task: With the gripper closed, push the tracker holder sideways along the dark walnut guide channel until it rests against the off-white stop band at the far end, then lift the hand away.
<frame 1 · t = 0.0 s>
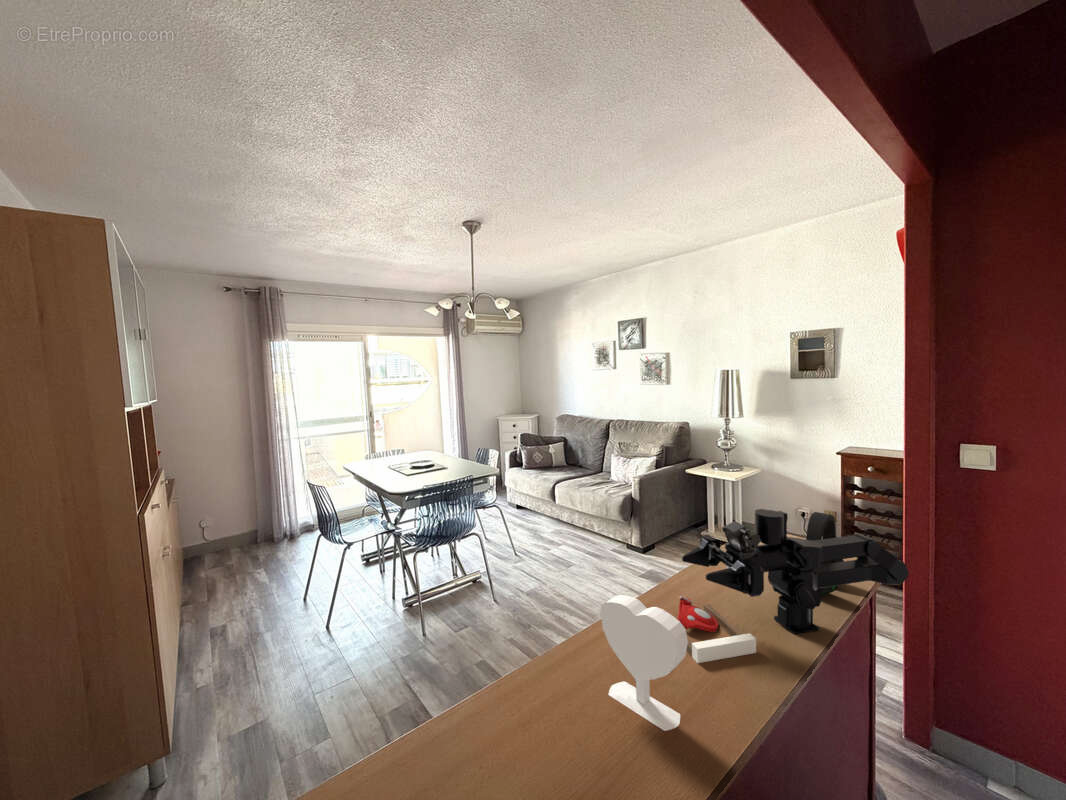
hand: (693, 567, 95), 17 cm above the counter, tool horizontal, fingers open, 9 cm apart
guide channel: (700, 631, 100), on the counter
tracker holder: (695, 622, 104), on the counter
headphones: (821, 589, 117), on the counter
heart sculpture: (643, 705, 79), on the counter
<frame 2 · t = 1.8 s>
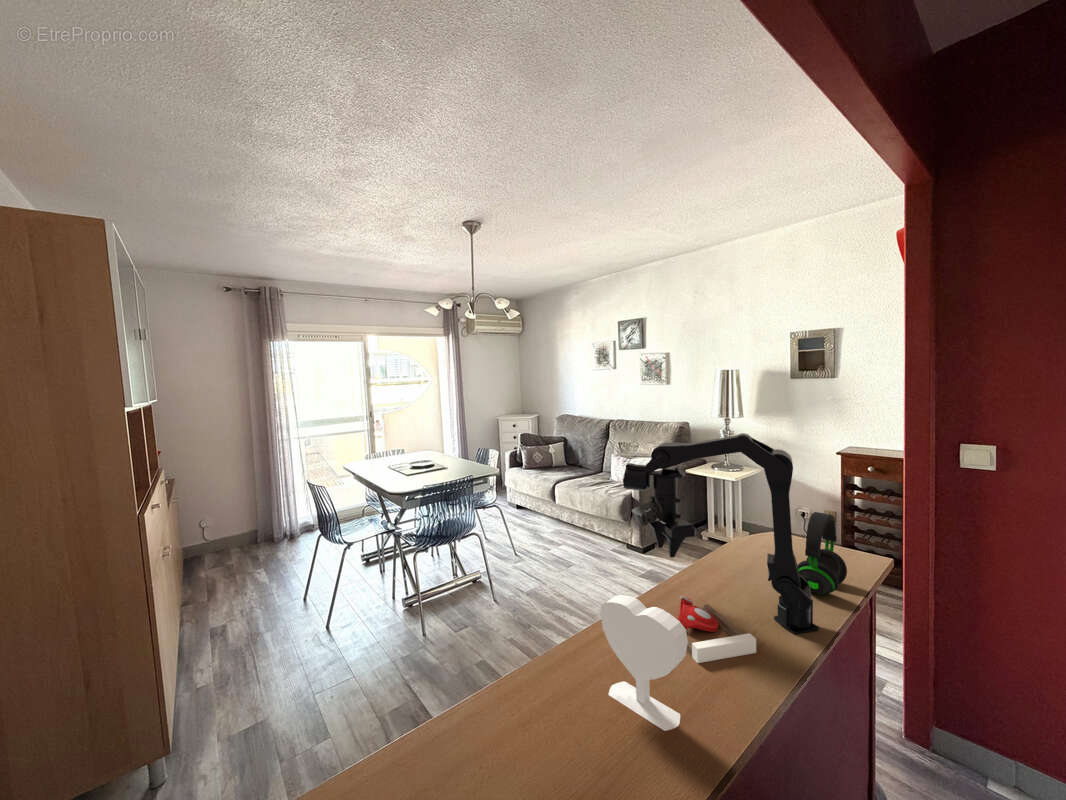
hand: (666, 552, 114), 12 cm above the counter, tool pointing down, fingers open, 6 cm apart
nothing on the counter moved.
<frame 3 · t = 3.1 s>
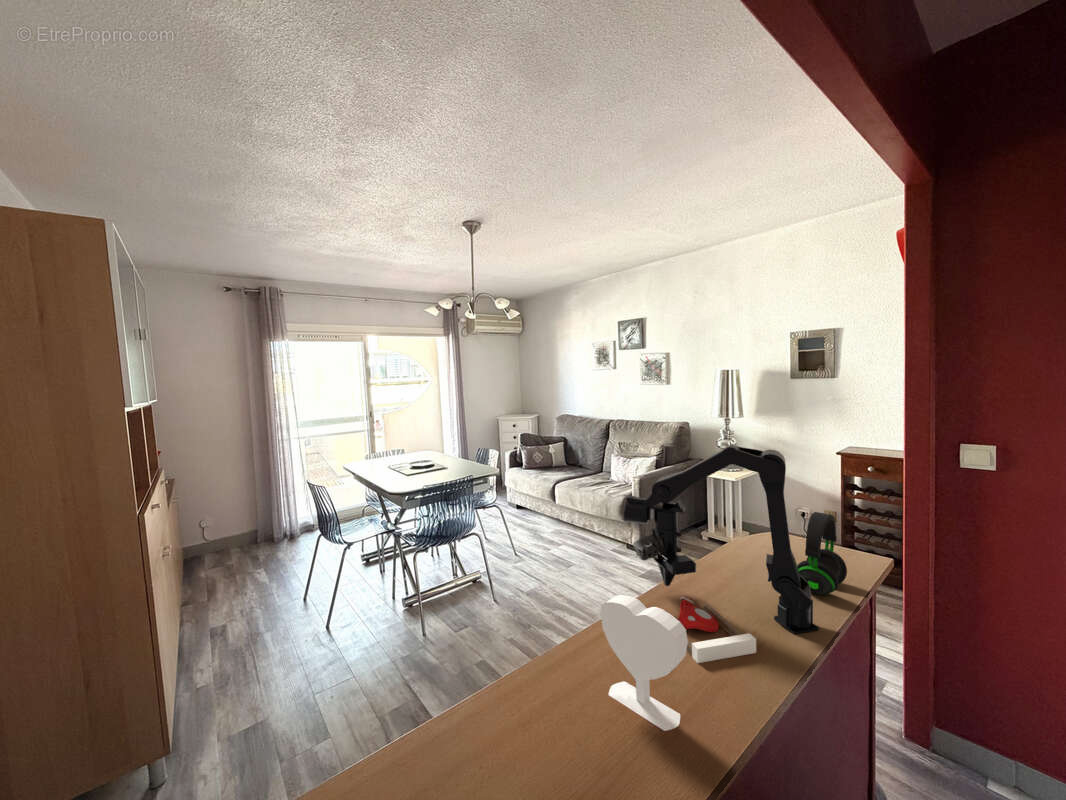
hand: (666, 585, 115), 3 cm above the counter, tool pointing down, fingers closed
nothing on the counter moved.
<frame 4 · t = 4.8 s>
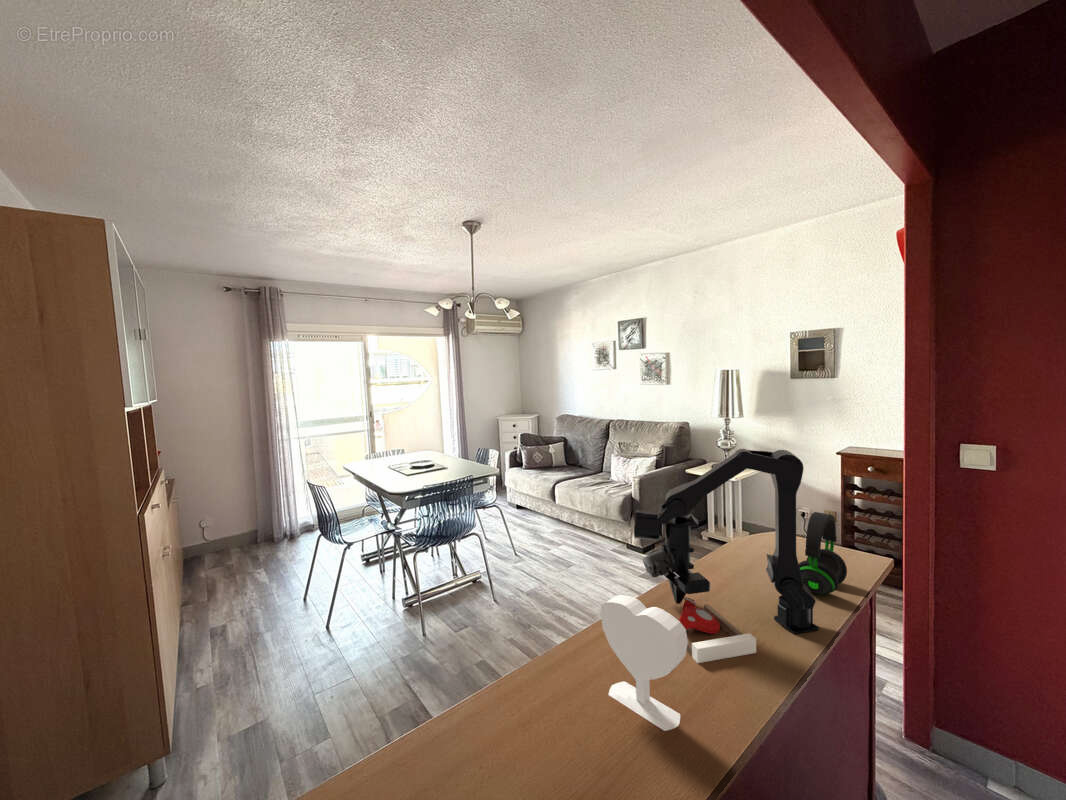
hand: (677, 603, 109), 2 cm above the counter, tool pointing down, fingers closed
nothing on the counter moved.
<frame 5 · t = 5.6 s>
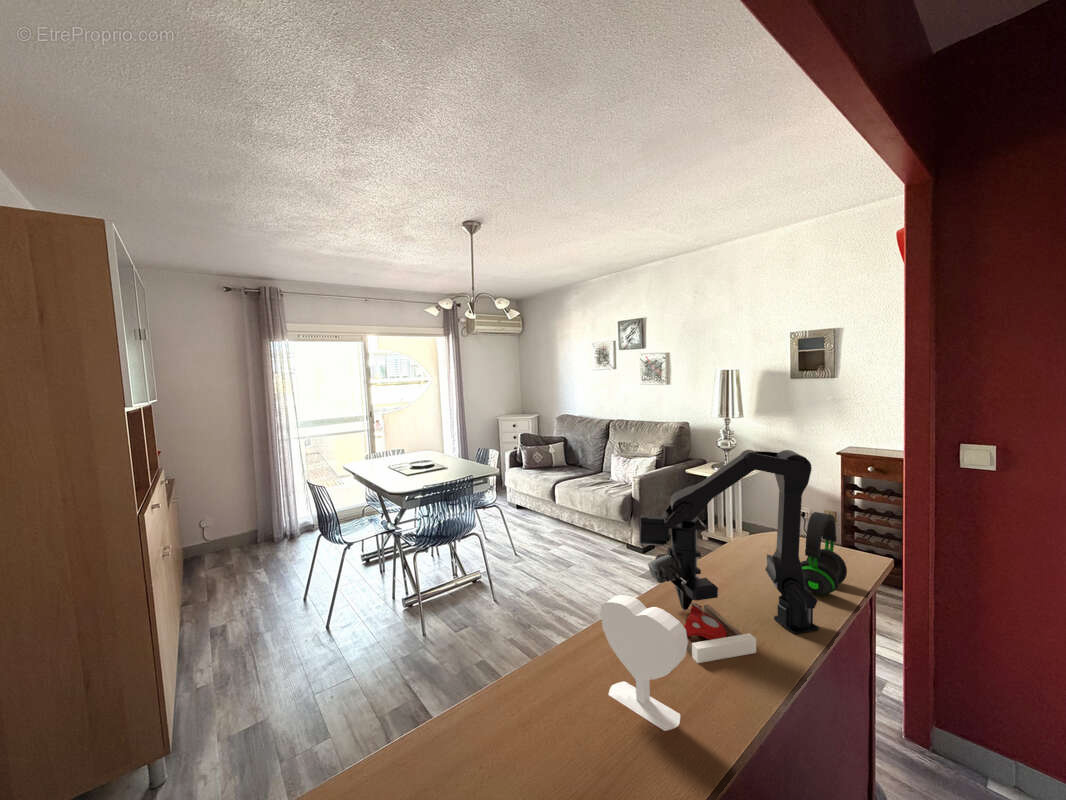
hand: (684, 609, 106), 2 cm above the counter, tool pointing down, fingers closed
tracker holder: (703, 630, 101), on the counter, touching gripper
everything else where it was.
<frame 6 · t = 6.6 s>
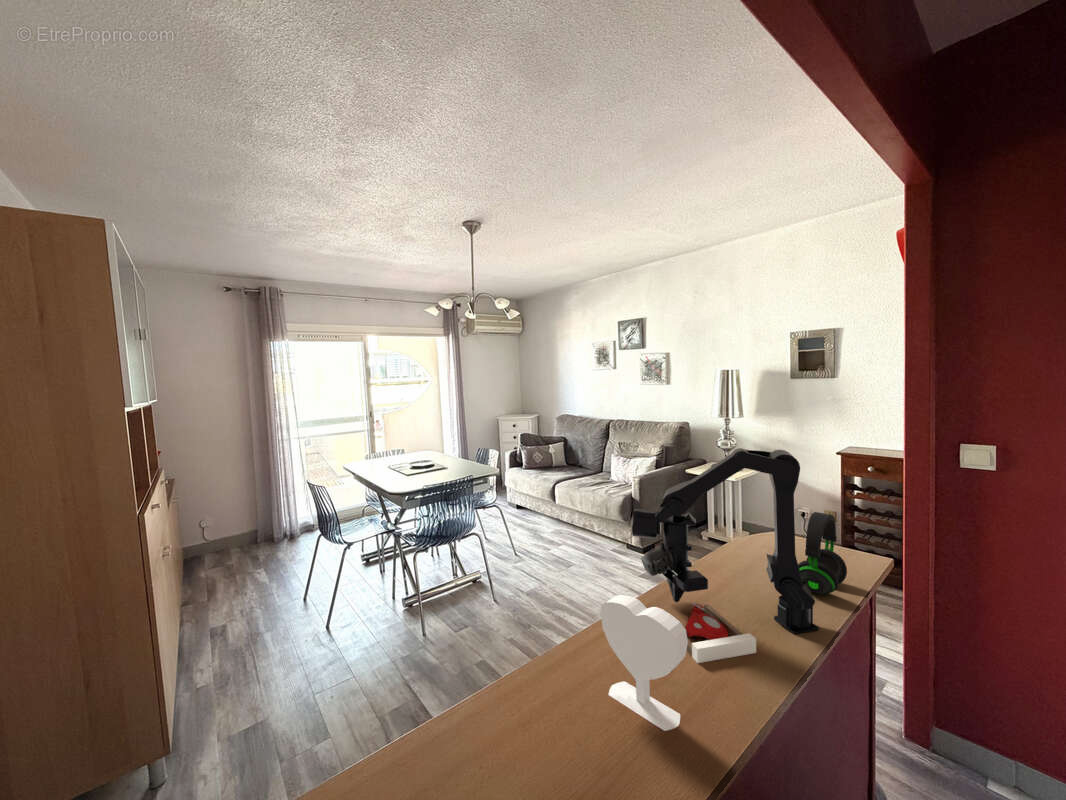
hand: (676, 601, 110), 2 cm above the counter, tool pointing down, fingers closed
tracker holder: (705, 630, 101), on the counter
everything else where it was.
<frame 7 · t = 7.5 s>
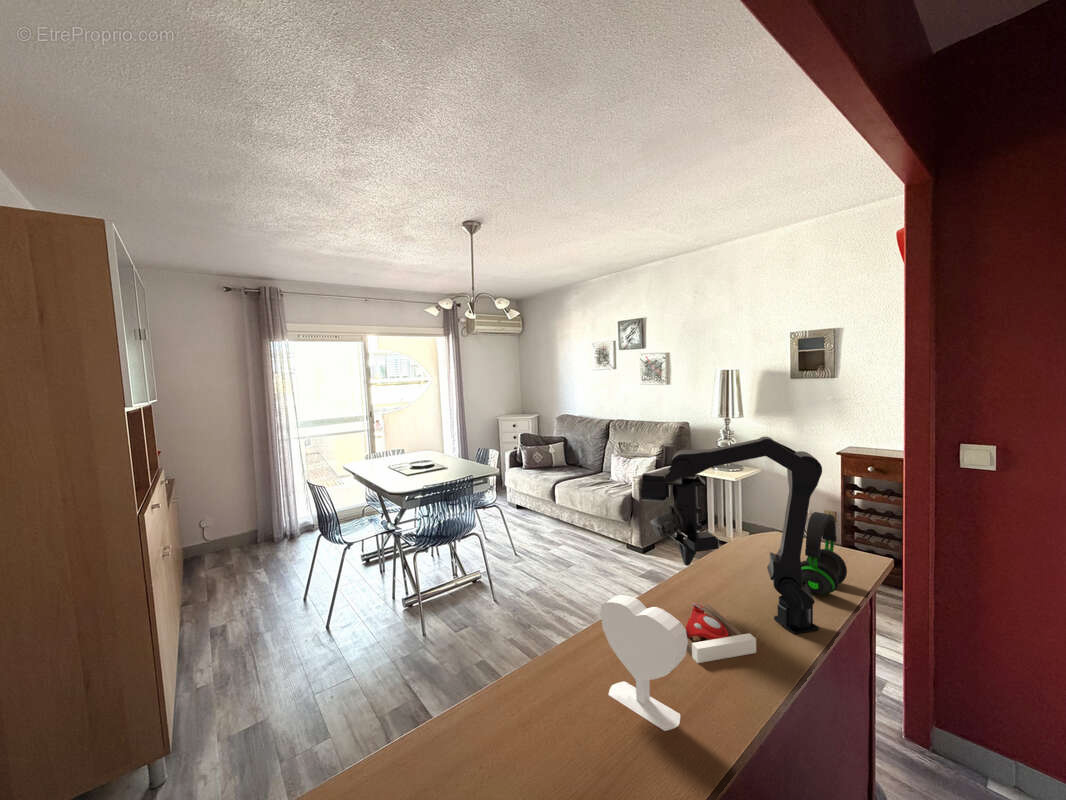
hand: (687, 564, 109), 11 cm above the counter, tool pointing down, fingers closed
nothing on the counter moved.
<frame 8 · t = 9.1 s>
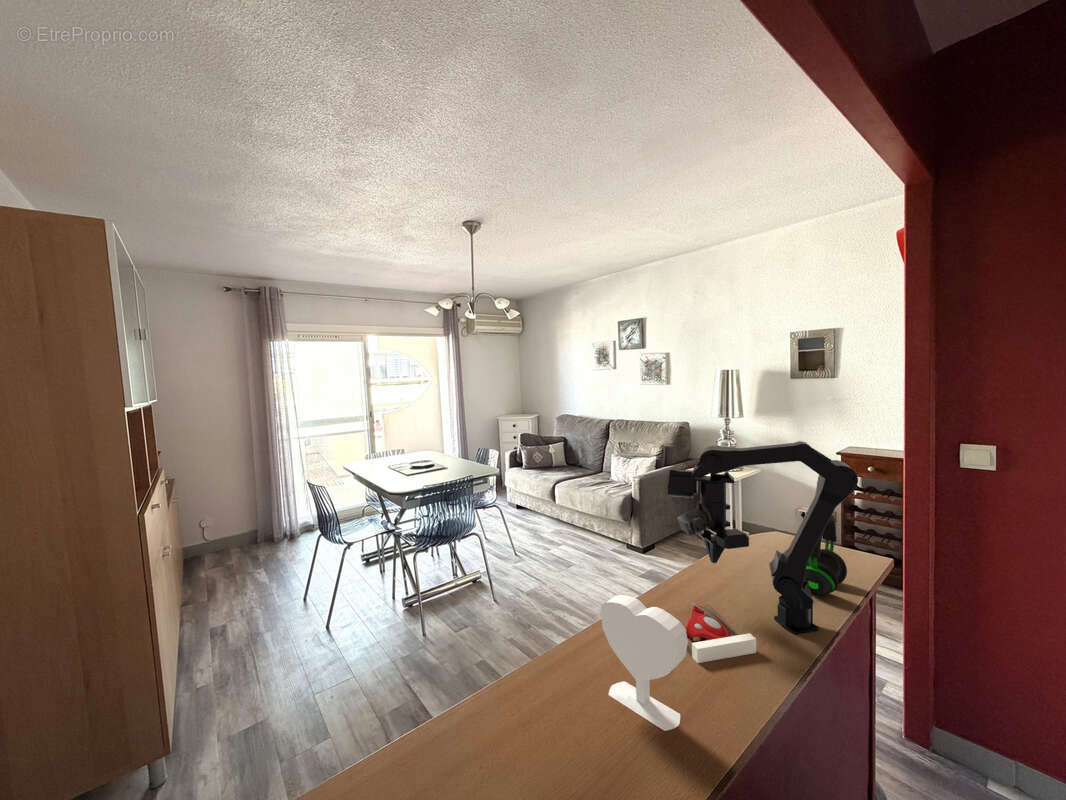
hand: (713, 562, 107), 12 cm above the counter, tool pointing down, fingers closed
nothing on the counter moved.
at the end: tracker holder 1.9 cm from the target spot, on the counter; tracker holder tilted 0°; tracker holder moved 4.0 cm from its start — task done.
